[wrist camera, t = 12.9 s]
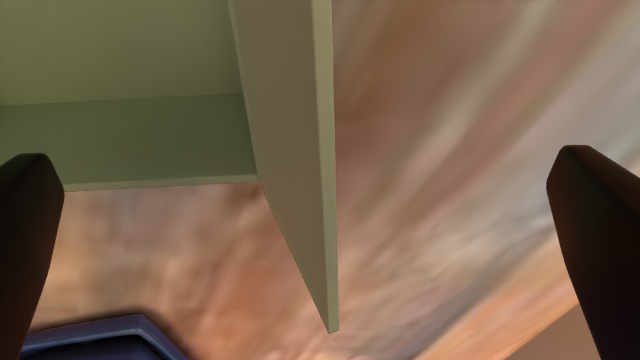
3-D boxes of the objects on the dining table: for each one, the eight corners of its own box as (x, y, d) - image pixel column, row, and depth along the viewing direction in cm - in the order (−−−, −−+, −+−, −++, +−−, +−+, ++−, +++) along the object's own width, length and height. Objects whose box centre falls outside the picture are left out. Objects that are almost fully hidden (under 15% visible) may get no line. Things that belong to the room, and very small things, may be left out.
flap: (293, -336, 5) (324, -338, 5) (179, -320, 9) (197, -321, 10) (328, 334, 15) (339, 330, 15) (264, 193, 19) (273, 191, 19)
